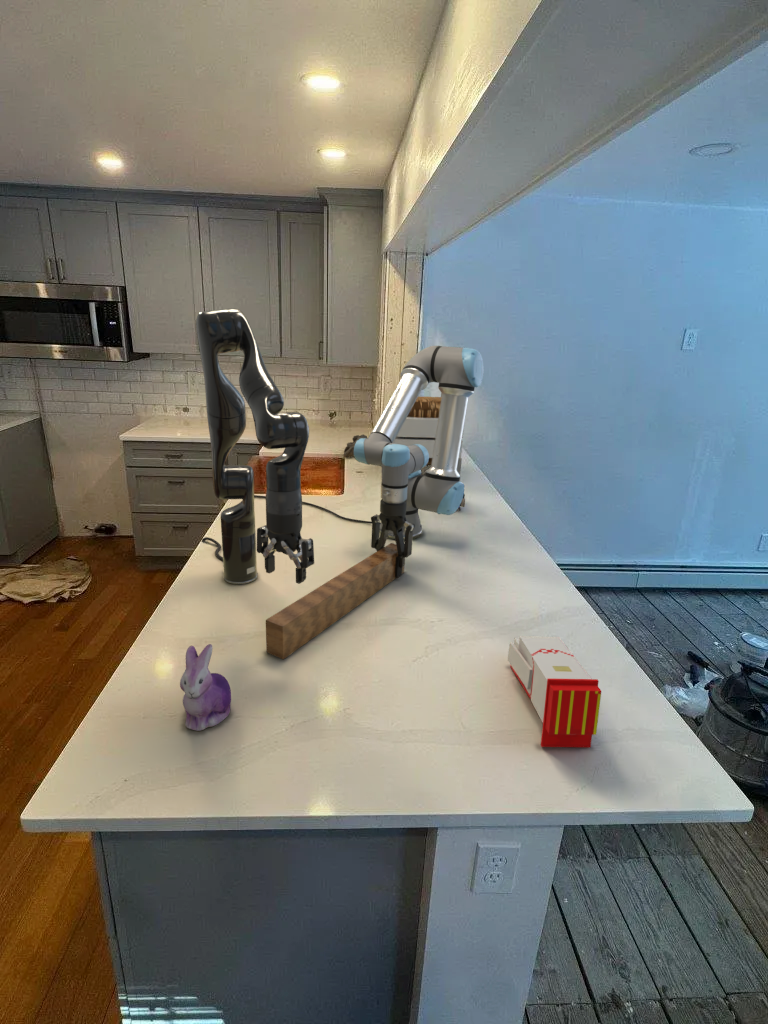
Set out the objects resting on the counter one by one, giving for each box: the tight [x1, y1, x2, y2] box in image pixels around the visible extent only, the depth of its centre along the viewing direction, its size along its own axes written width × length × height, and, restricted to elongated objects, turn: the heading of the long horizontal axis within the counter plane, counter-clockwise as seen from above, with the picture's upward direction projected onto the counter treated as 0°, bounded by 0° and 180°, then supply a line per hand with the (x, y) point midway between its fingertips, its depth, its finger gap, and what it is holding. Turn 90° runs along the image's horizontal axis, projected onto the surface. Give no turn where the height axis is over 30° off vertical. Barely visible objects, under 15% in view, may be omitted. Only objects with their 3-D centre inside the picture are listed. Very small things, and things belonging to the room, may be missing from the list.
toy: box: [507, 635, 602, 748], centre depth 115 cm, size 12×13×30 cm
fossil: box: [343, 434, 368, 459], centre depth 304 cm, size 22×10×15 cm
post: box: [265, 542, 405, 660], centre depth 148 cm, size 55×5×8 cm, turn 149°
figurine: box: [179, 643, 232, 732], centre depth 106 cm, size 9×10×15 cm
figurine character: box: [457, 493, 466, 511], centre depth 229 cm, size 7×8×15 cm
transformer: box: [393, 392, 465, 476], centre depth 268 cm, size 34×33×41 cm
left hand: (285, 577), depth 125 cm, fingers open, 8 cm apart
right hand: (389, 573), depth 169 cm, fingers closed on post, 5 cm apart
